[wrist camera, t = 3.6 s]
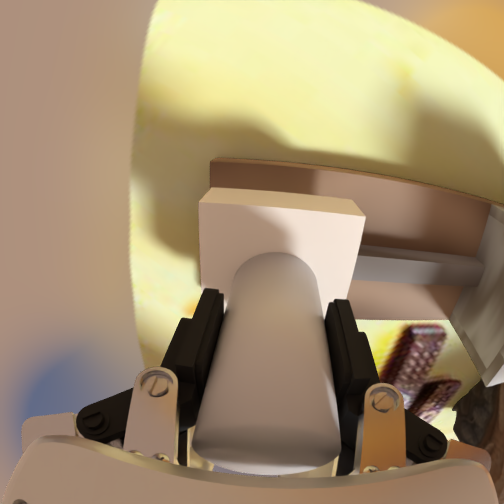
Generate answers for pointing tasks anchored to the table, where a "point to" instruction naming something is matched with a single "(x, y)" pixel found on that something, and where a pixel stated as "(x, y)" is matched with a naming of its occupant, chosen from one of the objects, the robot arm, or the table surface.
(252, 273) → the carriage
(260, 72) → the table surface
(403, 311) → the rail base
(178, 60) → the table surface
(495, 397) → the brown rock
